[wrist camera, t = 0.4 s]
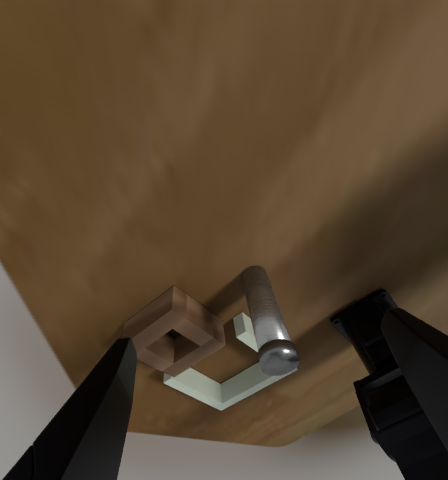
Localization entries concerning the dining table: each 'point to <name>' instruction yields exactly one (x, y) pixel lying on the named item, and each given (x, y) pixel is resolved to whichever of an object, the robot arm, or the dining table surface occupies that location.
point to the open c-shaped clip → (233, 387)
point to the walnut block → (181, 320)
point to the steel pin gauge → (268, 324)
